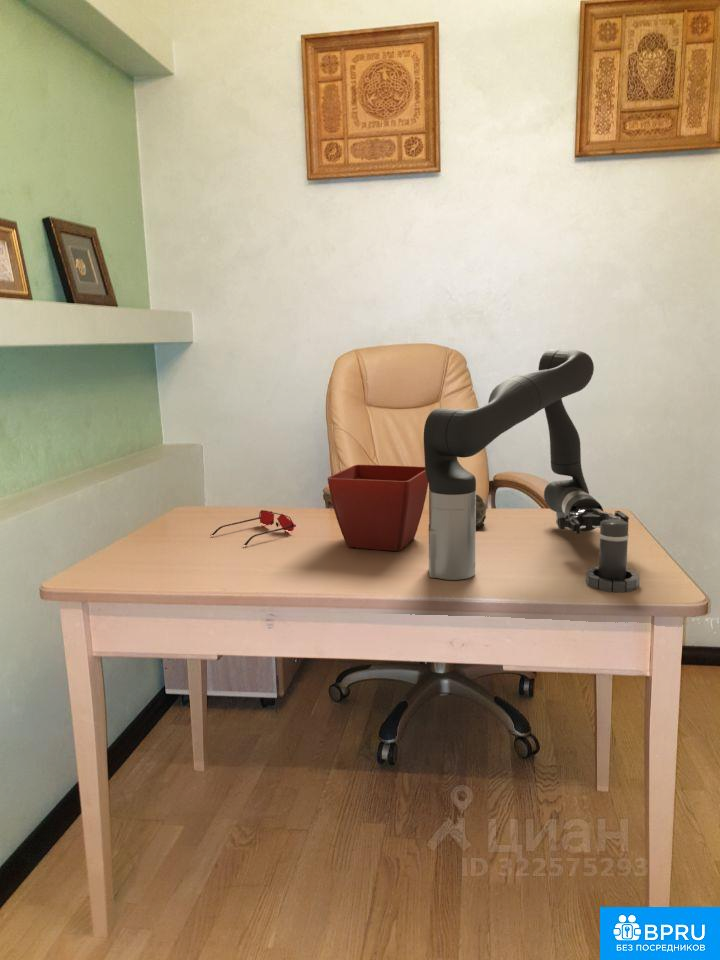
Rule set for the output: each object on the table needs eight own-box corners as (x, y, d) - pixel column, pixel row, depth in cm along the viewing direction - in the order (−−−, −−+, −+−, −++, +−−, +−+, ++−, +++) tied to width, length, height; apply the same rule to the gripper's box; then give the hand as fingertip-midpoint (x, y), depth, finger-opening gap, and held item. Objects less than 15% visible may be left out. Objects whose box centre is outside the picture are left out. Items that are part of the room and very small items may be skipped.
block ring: (593, 592, 140) (593, 581, 140) (581, 576, 149) (581, 566, 149) (644, 592, 139) (645, 581, 139) (629, 575, 149) (630, 566, 148)
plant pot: (357, 529, 188) (355, 463, 185) (431, 535, 181) (431, 466, 178) (327, 550, 170) (325, 477, 167) (409, 557, 164) (408, 481, 161)
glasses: (297, 535, 185) (296, 515, 184) (242, 549, 174) (241, 528, 173) (262, 526, 195) (261, 507, 194) (208, 539, 184) (207, 519, 183)
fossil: (452, 530, 183) (444, 491, 186) (442, 539, 192) (434, 501, 194) (494, 525, 185) (486, 487, 188) (482, 534, 194) (474, 497, 197)
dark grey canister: (601, 588, 142) (603, 526, 140) (594, 579, 147) (596, 519, 145) (629, 588, 142) (632, 526, 139) (621, 579, 147) (624, 519, 144)
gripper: (549, 494, 169) (564, 511, 153) (614, 493, 168) (636, 510, 152) (549, 526, 170) (563, 546, 154) (613, 526, 169) (634, 546, 153)
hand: (599, 528), depth 153 cm, fingers open, 8 cm apart
